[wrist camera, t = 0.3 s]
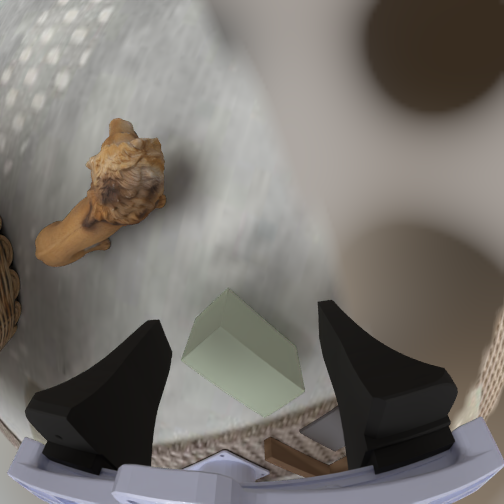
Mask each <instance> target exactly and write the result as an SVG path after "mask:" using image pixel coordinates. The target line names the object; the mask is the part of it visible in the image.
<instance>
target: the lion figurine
mask: <svg viewBox="0 0 504 504" xmlns="http://www.w3.org/2000/svg"><path fill="white" fill-rule="evenodd" d="M163 158H164V155H163V153H162V151H161V144H160V142H159V140H158V138H154V139H149V138H138V136H137V134H136V132H135V131H134V129H133V125H132V124H131V123H130V122H128V121H126V120H122V119H121V118H116V119H113V120H112V121H111V122H110V124H109V137H108V138H107V139H106V140H105V141H104V143H103V144H102V147H101V151H100V152H99V153H98V154H97V155H95V156H93V157H91V158H90V159H89V161H88V162H87V163H86V167H87V168H89V169H90V170H91V178H92V183H91V188H90V189H89V190H88V191H87V197H85V198H84V199H83V200H81V201H80V202H79V203H78V204H77V205H76V206H75V207H74V208H73V209H72V210H71V212H70V213H69V214H68V215H67V216H66V218H65V219H64V220H63V221H56V222H54V223H52V224H50V225H48V226H47V227H45V228H44V229H43V230H42V231H41V232H40V233H39V235H38V236H37V238H36V240H35V246H36V253H35V254H36V257H37V259H39V260H42V261H43V263H45V264H46V265H49V266H52V267H59V266H65V265H67V264H70V263H73V262H75V261H77V260H78V259H80V258H82V257H83V256H84V255H85V254H87V253H89V252H92V251H95V250H107V249H109V248H110V244H111V243H110V241H109V239H108V237H110V236H111V235H113V234H114V233H115V232H116V231H117V230H118V229H120V228H121V227H123V226H126V225H133V224H137V223H139V222H141V221H142V220H143V219H145V218H146V217H147V216H148V214H149V213H150V212H151V211H153V210H154V209H155V208H162V207H164V206H165V203H166V196H165V195H164V194H163V192H164V173H163V171H164V163H165V160H164V159H163Z"/></svg>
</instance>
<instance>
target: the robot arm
mask: <svg viewBox="0 0 504 504" xmlns="http://www.w3.org/2000/svg"><path fill="white" fill-rule="evenodd" d="M318 315H319V339H320V344H321V349H322V354H323V358H324V361H325V364H326V367H327V370H328V373H329V376H330V379H331V382H332V385H333V388H334V392H335V395H336V398H337V402H338V407H339V412H340V417H341V423H342V429H343V435H344V441H345V448H346V456H347V464H348V471H344V472H339V473H333V474H328V475H322V476H315V477H308V478H300V479H291V480H281V481H267V482H255V480H257V479H259V478H261V477H264V476H266V475H268V474H269V473H270V472H269V470H267V469H264V468H262V467H260V466H258V465H256V464H253V463H251V462H249V461H247V460H245V459H243V458H241V457H239V456H237V455H235V454H233V453H231V452H229V451H227V450H223V451H221V452H219V453H217V454H215V455H213V456H211V457H208V458H206V459H204V460H202V461H200V462H198V463H195V464H193V465H191V466H189V467H186V468H184V469H182V470H180V469H169V468H159V467H151V456H152V443H153V434H154V427H155V420H156V415H157V410H158V407H159V403H160V400H161V397H162V393H163V390H164V387H165V384H166V381H167V377H168V374H169V370H170V365H171V358H172V350H171V348H170V346H169V343H168V341H167V338H166V336H165V333H164V331H163V328H162V325H161V323H160V320H148V321H146V322H145V323H144V324H143V325H141V326H140V327H139V328H138V329H137V330H136V331H135V332H134V333H132V334H131V335H130V336H129V337H128V338H127V339H126V340H125V341H124V342H123V343H122V344H120V345H119V346H118V347H117V348H116V349H115V350H113V351H112V352H111V353H110V354H109V355H107V356H106V357H105V358H104V359H102V360H101V361H100V362H98V363H97V364H95V365H94V366H92V367H91V368H90V369H88V370H86V371H85V372H83V373H81V374H79V375H78V376H76V377H74V378H72V379H70V380H68V381H66V382H64V383H62V384H60V385H57V386H55V387H52V388H49V389H46V390H43V391H40V392H37V393H35V395H34V396H33V398H32V400H31V401H30V403H29V405H28V406H27V408H26V410H25V414H26V417H27V419H28V420H29V422H30V423H31V424H32V425H33V426H34V427H35V429H36V430H37V431H38V432H39V433H40V434H41V435H42V436H43V437H44V438H45V439H46V440H47V443H46V445H44V444H42V443H40V442H38V441H36V440H33V439H30V438H28V437H25V438H24V440H23V442H22V444H21V445H20V447H19V449H18V451H17V454H16V455H15V458H14V460H13V462H12V464H11V466H10V468H9V470H8V472H7V473H8V475H9V476H10V477H11V478H13V479H14V480H15V481H16V482H18V483H19V484H20V485H22V486H23V487H24V488H26V489H27V490H28V491H30V492H31V493H33V494H34V495H35V496H37V497H38V498H40V499H41V500H44V501H45V502H48V503H50V504H452V503H454V502H456V501H458V500H460V499H462V498H464V497H466V496H467V495H469V494H471V493H473V492H475V491H476V490H478V489H479V488H480V487H481V486H483V485H484V484H485V483H486V482H487V481H488V480H489V479H490V478H492V477H493V476H494V475H495V474H496V473H497V472H498V471H499V470H500V469H501V468H502V467H504V459H503V457H502V455H501V453H500V451H499V449H498V447H497V445H496V443H495V440H494V439H493V437H492V435H491V433H490V431H489V429H488V427H487V425H486V423H485V421H484V419H483V417H478V418H476V419H474V420H472V421H470V422H468V423H466V424H463V425H461V426H459V427H458V428H456V429H455V430H453V431H452V432H451V430H450V428H449V425H450V424H451V421H450V419H449V417H448V413H449V411H450V409H451V407H452V405H453V403H454V401H455V399H456V396H457V393H458V391H457V387H456V385H455V383H454V382H453V380H452V378H451V377H450V375H449V374H448V373H447V371H446V370H445V369H444V368H441V367H438V366H434V365H430V364H427V363H423V362H421V361H418V360H415V359H412V358H410V357H408V356H405V355H403V354H401V353H399V352H397V351H395V350H393V349H391V348H389V347H388V346H386V345H384V344H383V343H381V342H380V341H378V340H376V339H375V338H373V337H372V336H371V335H369V334H368V333H367V332H366V331H364V330H363V329H362V328H361V327H359V326H358V325H357V324H356V323H355V322H354V321H353V320H352V319H351V318H350V317H348V316H347V315H346V314H345V313H344V312H343V311H342V310H341V309H340V308H339V306H338V305H337V304H336V303H335V302H334V301H332V300H327V301H321V302H318Z"/></svg>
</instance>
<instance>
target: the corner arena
mask: <svg viewBox="0 0 504 504" xmlns="http://www.w3.org/2000/svg"><path fill="white" fill-rule="evenodd" d="M300 433H301V434H303V435H305V436H307V437H309V438H310V439H312V440H314V441H316V442H318V443H320V444H322V445H323V446H325V447H327V448H329V449H331V450H333V451H337V450H339V449H340V448H342V447H344V446H345V441H344V435H343V429H342V423H341V417H340V412H339V407H338V406H337V407H336V408H334V409H333V410H331V411H330V412H328V413H327V414H325V415H323V416H322V417H320V418H319V419H317V420H316V421H314V422H312V423H311V424H309V425H307V426H306V427H304V428H302V429H301V430H300ZM264 447H265V461H268V462H270V463H272V464H274V465H276V466H279V467H281V468H283V469H286V470H288V471H290V472H293V473H295V474H298V475H300V476H303V477H305V478H308V477H315V476H322V475H328V474H333V473H339V472H344V471H348V464H347V456H345V457H344V458H342V459H340V460H338V461H336V462H334V463H332V464H331V465H327V464H324V463H322V462H320V461H318V460H316V459H313V458H311V457H309V456H307V455H305V454H303V453H301V452H299V451H297V450H295V449H293V448H291V447H289V446H287V445H285V444H283V443H281V442H279V441H277V440H276V439H274V438H272V437H270V438H268V439H266V440H264Z"/></svg>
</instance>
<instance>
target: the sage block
mask: <svg viewBox="0 0 504 504" xmlns="http://www.w3.org/2000/svg"><path fill="white" fill-rule="evenodd" d="M181 361H182V362H184V363H185V364H186V365H188V366H189V367H190V368H192V369H193V370H194V371H196V372H197V373H198V374H200V375H201V376H202V377H204V378H205V379H207V380H208V381H209V382H211V383H212V384H214V385H215V386H217V387H218V388H219V389H221V390H222V391H224V392H225V393H227V394H228V395H230V396H231V397H233V398H234V399H236V400H237V401H239V402H240V403H242V404H243V405H245V406H246V407H248V408H250V409H251V410H253V411H254V412H256V413H257V414H259V415H261V416H262V417H264V418H265V417H267V416H269V415H270V414H272V413H273V412H275V411H277V410H278V409H280V408H281V407H283V406H284V405H286V404H287V403H289V402H290V401H292V400H294V399H295V398H296V397H298V396H299V395H301V394H302V393H304V392H305V388H304V383H303V378H302V373H301V368H300V364H299V359H298V354H297V350H296V346H295V345H294V344H292V343H291V342H290V341H289V340H288V339H287V338H285V337H284V336H283V335H282V334H281V333H279V332H278V331H277V330H276V329H275V328H274V327H272V326H271V325H270V324H269V323H268V322H267V321H265V320H264V319H263V318H262V317H261V316H260V315H259V314H257V313H256V312H255V311H254V310H253V309H252V308H251V307H249V306H248V305H247V304H246V303H245V302H244V301H243V300H241V299H240V298H239V297H238V296H237V295H236V294H235V293H234V292H232V291H231V290H230V289H229V288H227V289H226V290H225V291H224V292H223V293H222V294H221V295H220V296H219V297H218V298H217V299H216V300H215V301H214V302H213V303H212V304H210V305H209V306H208V307H207V308H206V309H205V310H204V311H203V312H202V313H201V314H200V315H199V316H198V317H197V318H196V319H195V322H194V325H193V328H192V330H191V333H190V336H189V339H188V342H187V345H186V347H185V350H184V353H183V356H182V359H181Z"/></svg>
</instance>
